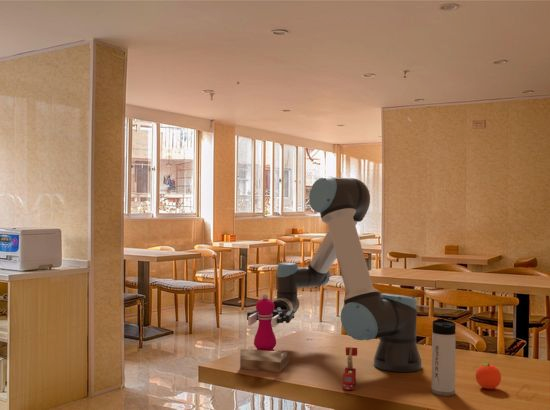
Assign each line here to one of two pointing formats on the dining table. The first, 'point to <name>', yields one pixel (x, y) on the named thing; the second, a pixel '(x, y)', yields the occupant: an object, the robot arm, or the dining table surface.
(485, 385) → the clementine
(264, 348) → the pepper mill
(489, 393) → the dining table surface
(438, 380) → the travel mug
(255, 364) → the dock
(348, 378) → the toy fire truck
